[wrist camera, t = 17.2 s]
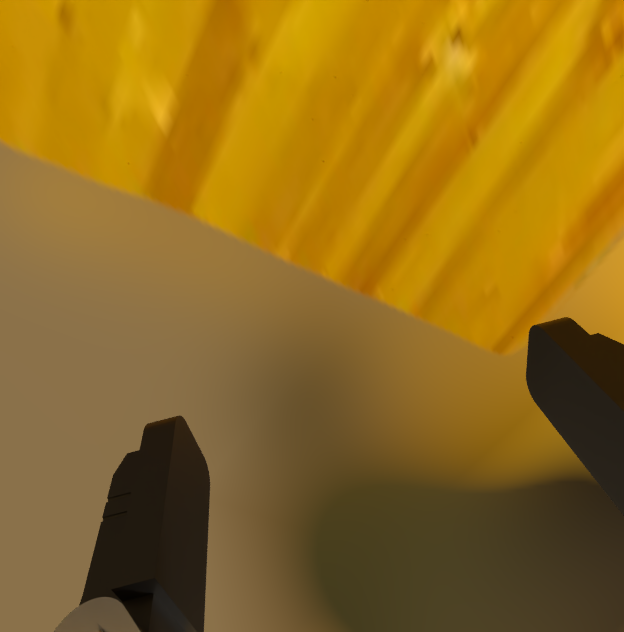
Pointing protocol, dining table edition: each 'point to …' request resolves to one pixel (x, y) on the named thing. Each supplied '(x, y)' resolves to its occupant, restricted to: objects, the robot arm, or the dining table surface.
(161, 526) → the robot arm
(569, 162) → the dining table surface
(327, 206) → the dining table surface
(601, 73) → the dining table surface
